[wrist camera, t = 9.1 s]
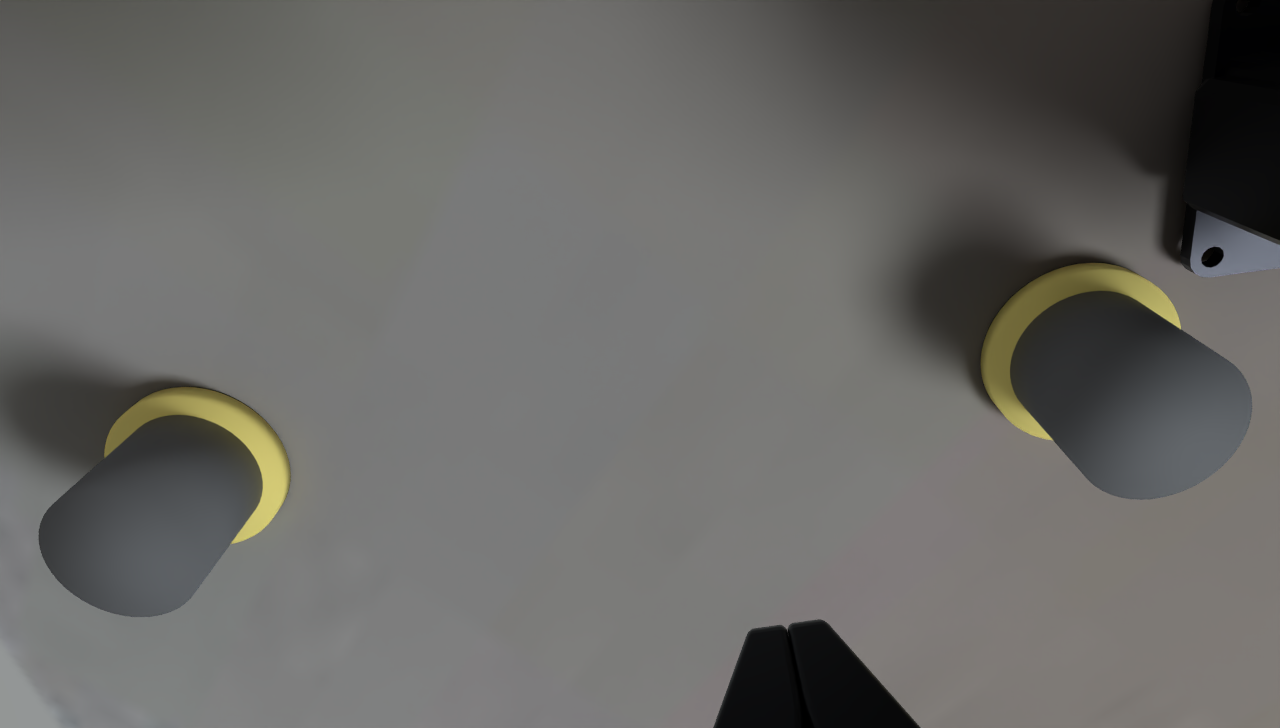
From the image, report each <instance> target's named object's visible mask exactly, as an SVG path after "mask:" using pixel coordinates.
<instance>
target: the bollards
mask: <svg viewBox="0 0 1280 728" xmlns="http://www.w3.org/2000/svg"><path fill="white" fill-rule="evenodd" d="M981 374H982V379H983V383H984V386H985V388H986V391H987V393H988V395H989V396H990V398H991V400H992V401H993V402H994V404H995V405H996V406H997V407H998V408H999V410H1000V411H1001V412H1002V413H1003V415H1004V416H1005V417H1006V418H1007V419H1008V420H1009V421H1010V422H1011V423H1012V424H1013V425H1015V426H1016V427H1018V428H1019V429H1021V430H1022V431H1024V432H1026V433H1029V434H1031V435H1033V436H1036V437H1040V438H1043V439H1049V440H1053V441H1054V442H1055V443H1056V444H1057V445H1058V446H1059V447H1060V449H1061V450H1062V451H1063V452H1064V453H1065V454H1066V455H1067V456H1068V458H1069V459H1070V460H1071V461H1072V462H1073V463H1074V464H1075V466H1076V467H1077V468H1078V469H1079V470H1080V471H1081V472H1082V474H1083V475H1084V476H1085V477H1086V478H1087V479H1088V480H1089V481H1090V482H1091V483H1092V484H1093V485H1094V486H1096V487H1097V488H1099V489H1101V490H1102V491H1104V492H1106V493H1109V494H1111V495H1114V496H1118V497H1121V498H1127V499H1140V500H1143V499H1155V498H1161V497H1166V496H1169V495H1173V494H1176V493H1179V492H1181V491H1184V490H1187V489H1189V488H1191V487H1193V486H1195V485H1197V484H1198V483H1200V482H1202V481H1203V480H1205V479H1207V478H1208V477H1209V476H1211V475H1212V474H1213V473H1215V472H1216V471H1217V470H1218V469H1219V468H1221V467H1222V466H1223V465H1224V464H1225V463H1226V462H1227V461H1228V460H1229V458H1230V457H1231V456H1232V455H1233V454H1234V452H1235V451H1236V450H1237V448H1238V447H1239V445H1240V444H1241V442H1242V440H1243V438H1244V436H1245V434H1246V432H1247V429H1248V427H1249V423H1250V419H1251V413H1252V397H1251V392H1250V388H1249V386H1248V383H1247V381H1246V379H1245V378H1244V376H1243V375H1242V373H1241V372H1240V371H1239V370H1238V369H1237V367H1236V366H1235V365H1233V364H1232V363H1231V362H1229V361H1228V360H1227V359H1225V358H1224V357H1222V356H1221V355H1219V354H1218V353H1216V352H1214V351H1213V350H1211V349H1210V348H1208V347H1207V346H1205V345H1204V344H1202V343H1201V342H1199V341H1198V340H1196V339H1195V338H1193V337H1192V336H1190V335H1189V334H1187V333H1186V332H1184V331H1183V330H1181V325H1180V321H1179V318H1178V314H1177V312H1176V310H1175V308H1174V306H1173V304H1172V303H1171V301H1170V300H1169V298H1168V297H1167V296H1166V295H1165V294H1164V293H1163V292H1162V291H1161V290H1160V289H1159V288H1158V287H1157V286H1155V285H1154V284H1152V283H1151V282H1150V281H1148V280H1146V279H1145V278H1143V277H1141V276H1140V275H1138V274H1136V273H1134V272H1132V271H1130V270H1128V269H1126V268H1123V267H1120V266H1117V265H1111V264H1106V263H1081V264H1075V265H1070V266H1066V267H1062V268H1059V269H1056V270H1053V271H1051V272H1049V273H1046V274H1044V275H1042V276H1040V277H1038V278H1037V279H1035V280H1033V281H1031V282H1030V283H1028V284H1027V285H1026V286H1024V287H1023V288H1022V289H1020V290H1019V291H1018V292H1017V293H1016V294H1015V295H1013V296H1012V297H1011V298H1010V299H1009V300H1008V301H1007V303H1006V304H1005V305H1004V306H1003V307H1002V308H1001V310H1000V311H999V312H998V314H997V315H996V317H995V318H994V320H993V322H992V324H991V325H990V327H989V329H988V332H987V334H986V337H985V340H984V343H983V347H982V352H981ZM289 486H290V465H289V460H288V457H287V453H286V451H285V449H284V446H283V444H282V442H281V441H280V439H279V437H278V436H277V434H276V433H275V432H274V430H273V429H272V428H271V427H270V425H269V424H268V423H267V422H266V421H265V420H264V419H263V418H262V417H261V416H260V415H258V414H257V413H256V412H255V411H253V410H252V409H251V408H249V407H248V406H246V405H245V404H243V403H241V402H240V401H238V400H236V399H234V398H232V397H229V396H227V395H224V394H222V393H219V392H215V391H212V390H208V389H202V388H196V387H176V388H169V389H164V390H160V391H157V392H154V393H152V394H150V395H148V396H146V397H144V398H142V399H141V400H140V401H138V402H137V403H136V404H135V405H133V406H132V407H131V408H130V409H129V410H127V411H126V412H125V413H124V414H123V415H122V416H121V417H120V418H119V419H118V420H117V421H116V422H115V423H114V425H113V426H112V428H111V430H110V432H109V434H108V437H107V440H106V444H105V452H104V459H103V460H102V461H101V462H100V463H99V464H97V465H96V466H95V467H94V468H93V469H92V470H91V471H90V472H88V473H87V474H86V475H85V476H84V477H83V478H82V479H81V480H79V481H78V482H77V483H76V484H75V485H74V486H73V487H72V488H70V489H69V490H68V491H67V492H66V493H65V494H64V495H63V496H61V497H60V498H59V499H58V500H57V501H56V502H55V503H54V504H53V505H52V506H51V507H50V508H49V509H48V510H47V512H46V513H45V515H44V516H43V518H42V521H41V523H40V528H39V545H40V550H41V553H42V556H43V558H44V560H45V563H46V565H47V566H48V568H49V569H50V571H51V573H52V574H53V575H54V576H55V577H56V579H57V580H58V581H59V582H60V583H61V584H62V585H63V586H64V587H65V588H66V589H67V590H69V591H70V592H71V593H72V594H74V595H75V596H77V597H78V598H80V599H81V600H83V601H85V602H87V603H88V604H90V605H92V606H94V607H97V608H99V609H101V610H104V611H107V612H110V613H114V614H118V615H123V616H131V617H152V616H157V615H162V614H165V613H169V612H171V611H173V610H175V609H177V608H179V607H181V606H182V605H184V604H185V603H186V602H187V601H188V600H189V599H190V598H191V597H192V596H193V594H194V593H195V592H196V590H197V589H198V588H199V586H200V585H201V584H202V582H203V581H204V579H205V578H206V577H207V575H208V574H209V573H210V571H211V570H212V569H213V567H214V566H215V564H216V563H217V562H218V560H219V559H220V558H221V556H222V555H223V553H224V552H225V551H226V549H227V548H228V547H229V545H230V544H233V543H237V542H240V541H243V540H246V539H248V538H250V537H252V536H254V535H255V534H257V533H259V532H260V531H261V530H262V529H264V528H265V527H266V526H267V525H268V524H269V522H270V521H271V520H272V519H273V517H274V516H275V514H276V513H277V512H278V510H279V509H280V507H281V506H282V504H283V502H284V500H285V499H286V496H287V494H288V491H289Z"/></svg>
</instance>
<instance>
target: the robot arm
mask: <svg viewBox="0 0 1280 728" xmlns="http://www.w3.org/2000/svg"><path fill="white" fill-rule="evenodd" d="M1236 2H1237V0H1213V3H1212V7H1211V15H1210V23H1209V31H1208V39H1207V47H1206V55H1205V63H1204V71H1203V79H1202V84H1201V86H1200V87H1199V88H1198V90H1197V91H1196V94H1195V102H1194V110H1193V118H1192V126H1191V135H1190V143H1189V151H1188V159H1187V167H1186V175H1185V183H1184V191H1183V199H1184V201H1185V202H1187V206H1186V214H1185V222H1184V230H1183V238H1182V246H1181V254H1180V256H1181V263H1182V265H1183V266H1184V268H1186V269H1187V270H1189V271H1191V272H1193V273H1195V274H1197V275H1199V276H1201V277H1216V276H1223V275H1231V274H1238V273H1246V272H1253V271H1261V270H1268V269H1275V268H1280V0H1249V2H1248V4H1247V7H1246V8H1245V9H1244V10H1243V11H1242V12H1241V13H1238V12H1237V11H1236ZM1211 247H1213V253H1212V255H1211V257H1210V258H1208V259H1207V260H1206V261H1203V262H1201V257H1202V255H1203V253H1204V252H1205V251H1206V250H1207V249H1209V248H1211ZM713 728H920V727H919V725H918V724H917V723H916V722H915V721H914V720H913V719H912V717H911V716H910V715H909V714H908V713H907V712H906V711H905V710H904V708H903V707H902V706H901V705H900V704H899V703H898V702H897V701H896V699H895V698H894V697H893V696H892V695H891V694H890V693H889V692H888V690H887V689H886V688H885V687H884V686H883V685H882V684H881V683H880V681H879V680H878V679H877V678H876V677H875V676H874V675H873V674H872V672H871V671H870V670H869V669H868V668H867V667H866V666H865V665H864V663H863V662H862V661H861V660H860V659H859V658H858V657H857V656H856V654H855V653H854V652H853V651H852V650H851V649H850V648H849V647H848V645H847V644H846V643H845V642H844V641H843V640H842V639H841V638H840V636H839V635H838V634H837V633H836V632H835V631H834V630H833V629H832V627H831V626H830V625H829V624H828V623H827V622H825V621H823V620H812V621H805V622H797V623H792V624H790V625H789V627H788V632H787V629H786V628H785V627H784V626H782V625H776V626H769V627H762V628H755V629H752V630H750V631H749V632H748V634H747V636H746V639H745V642H744V644H743V647H742V650H741V653H740V655H739V658H738V661H737V664H736V666H735V669H734V672H733V675H732V677H731V680H730V683H729V686H728V689H727V691H726V694H725V697H724V700H723V702H722V705H721V708H720V711H719V713H718V716H717V719H716V722H715V725H714V727H713Z"/></svg>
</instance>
